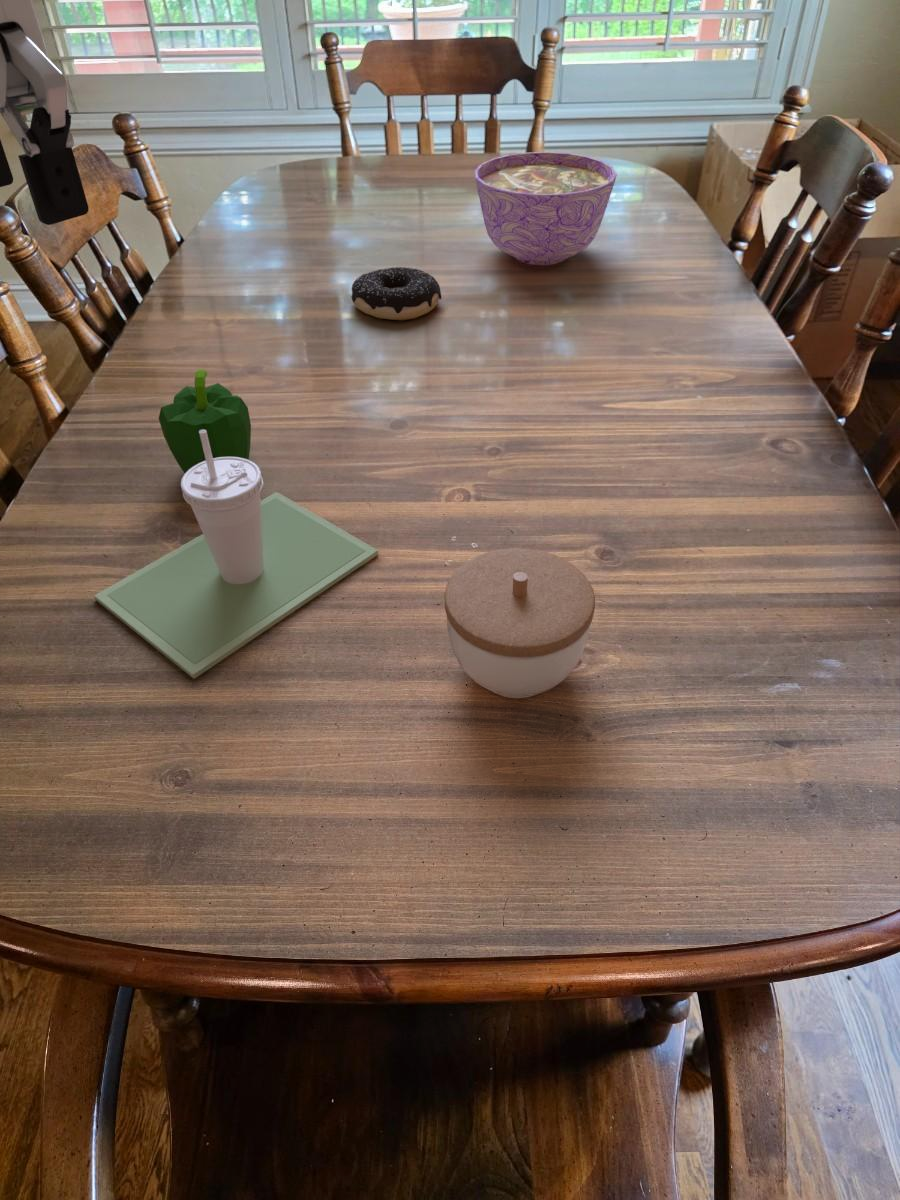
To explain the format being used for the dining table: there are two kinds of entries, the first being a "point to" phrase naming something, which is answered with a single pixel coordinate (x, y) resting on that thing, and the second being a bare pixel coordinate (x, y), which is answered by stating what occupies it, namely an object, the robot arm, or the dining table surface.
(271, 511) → the placemat
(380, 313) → the donut
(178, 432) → the bell pepper
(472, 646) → the trinket box
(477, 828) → the dining table surface
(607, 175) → the bowl of food
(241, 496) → the smoothie
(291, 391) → the dining table surface
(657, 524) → the dining table surface
